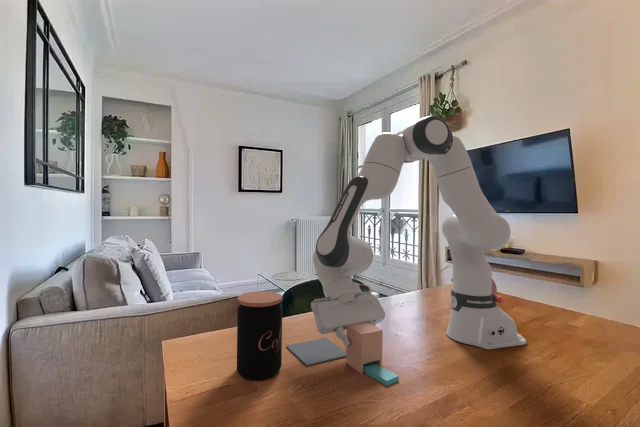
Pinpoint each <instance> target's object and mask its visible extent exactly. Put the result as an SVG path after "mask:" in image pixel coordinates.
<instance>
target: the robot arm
mask: <svg viewBox="0 0 640 427" xmlns="http://www.w3.org/2000/svg"><path fill="white" fill-rule="evenodd" d="M425 159H426V160H427V161H428V162H429V163H430V165H431V166H432V170H433V174H434V176H435V177H434V178H435V180H436V183H437V186H438V189H439V191H440V195H441V198H442V200H443V202H444V203H445V204H446V205H447V206H448V207H449V208H450V209H451V211H452V212H453V213H454V214H451V215H449V216H447V217H446V218H445V219H444V221H443V223H442V226H441V232H442V234H443V236H444V238H445V239H446V242H447V245H448V250H449V253H450V256H451V257H450V258H451V263H452V277H453V282H452V289H451V290H450V308H451V309H450V310H451V311H450V316H449V321H448V322H449V323H448V326H447V329H446V332H445V334H446V335H447V337H448V338H450V339H452V340H454V341H457V342H459V343H462V344H466V345H471V346H475V347H479V348H482V349H485V350H494V349H502V348H508V347H517V346H523V345H527V340H526V338H525V337H524V336H523V335H521V334H520V333H518V328H517V324H516V322H515V320H514V319H513V318H512V317H511V316H510V315H509V314H508V313H507V312H505V311H504V310H503V309H501V308H500V307H499V306H497V305H498V304H497V303H499V304H503V303H504V302H505V298H504V296H501V295H499V294H498V295H496V296H495V295H494V294H492V293H491V289H492V279H493V278H492V276H493V271H492V266H491V265H490V264H489V262H488V261H487V258H486V256H485V253H484V251H491V250H497V249H502V248H503V247H504V246H506V245H507V243H509V241H510V238H511V233H512V232H511V226H510V224H509V223H508V220H506V219H505V218H504V217H502V216H501V215H500V214H499V213H497V211H496V210H495V209H494V208H493V206H492V205H491V203H490V202H489V200H488V199H487V197H486V195H484V193H483V190H482V188H481V186H480V184H479V180H478V178H477V175H476V171H475V170H474V167H473V163H472V160H471V157H470V155H469V153H468V150H467V149H466V147H465V145H464V143H463V141H462V140H461V139H460V137H458V136H456V135H453V132H452V131H451V129H450V126H449V124H448V123H447V122H446V121H445V120H444V119H443V118H442V117H439V116H437V115H428V116H423V117H421V118H420V119H418V120H416V121H413V122H412V123H410V124H408V125H407V126H406V127H404V129H402V130H400V131H399V132H397V133H394V132H382V133H380V134H378V135H377V136H376V137H375V138H374V140H373V142H372V143H371V145H370V147H369V149H368V152H367V153H366V156H365V158H364V160H363V163H362V164H363V165H362V166H361V169H360V171H359V172H358V174H357V176H355V177H353V178H352V179H351V180H350V181H349V182H348V184H347V185H346V187H345V188H344V191H343V193H342V195H341V196H340V198H339V201H338V203H337V205H336V207H335V209H334V211H333V213H332V215H331V217H330V219H329V221H328V223H327V225H326V226H325V228H324V229H323V231H322V232H321V233H320V235H319V236H318V238H317V241H316V243H315V250H314V252H313V254H312V263H313V267H314V268H313V269H314V270H315V274H316V276H317V279H318V280H319V282H320V283H321V286H322V290H323V294H324V296H325V297H322V298H315V299H313V301H311V303H310V308H311V311H312V314H314V315H313V316H314V321H315V326H316V329H317V331H318V332H319V333H320V334H321V335H325V334H326V335H327V334H331V333H335V337H337V338H339V339H340V341H342V342H343V346H344V347H345V348H346V347H349V346H351V345H352V344H353V342H352V341H351V337H347V334H345V333H344V331H347V326H349V325H354V324H360V323H365V322H368V323H370V324H372V325H374V326H376V327H377V324H380V323H382V322H383V321H384V319H385V318H386V311H385V310H384V307H383V305H382V303H381V302H380V301H379V298H378V299H377V297H376V296H375V295H373V294H371V293H372V292H373V288H372V286H370V285H369V284H362V283H358V282H356V281H353V279H352V277H354V276H358V275H359V274H361V273H363V272H364V271H366V270H368V269H369V267H370V266H371V265H372V262H373V260H374V259H373V258H374V252H373V251H374V250H373V249H372V246H371V245H370V243H369V242H367V241H365V240H363V239H361V238H358V237H356V236H352V235H351V234H350V232H351V229H352V226H353V224H354V221H355V219H356V217H357V215H358V213H359V211H360V209H361V207H362V206H363V204H365V203H366V202H368V201H371V200H373V201H374V200H381V199H384V198H386V197H388V196H390V195H391V194H392V193H393V192H394V191H395V188H396V187H397V184H398V181H399V178H400V174H401V172H402V168H403V166H404V163H405V164H407V163H408V164H410V163H414V162H416V161H417V162H418V161H421V160H425Z"/></svg>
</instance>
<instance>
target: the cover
mask: <svg viewBox="0 0 640 427" xmlns="http://www.w3.org/2000/svg"><path fill="white" fill-rule="evenodd" d="M383 332H384V331H383V329H381V328H380V327H378V326H377V325H376V326H374V325H372V324H370V323H368V322H365V323H360V324H354V325H349V326H347V330H346V336H347V337H351V341H352V342H353V344H352V345H351V346H349V347H345V348H346V350H345V351H346V357H345V360H346V361H345V364H348V366H350V367H351V368H353V369H354V370H355V371H357V373H359V374H360V375H363V374H364V372H363V364H366V363H370V362H374V363H376V364H378V365H380V366H382V367H383Z"/></svg>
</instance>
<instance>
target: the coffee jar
mask: <svg viewBox="0 0 640 427" xmlns="http://www.w3.org/2000/svg"><path fill="white" fill-rule="evenodd" d="M282 301H283V295H282V294H280V293H278V292H275V291H250V292H245V293H243V294H239V296H238V297H237V303H238V304H239V305H238V306H237V312H236V313H237V315H236V316H237V322H236V324H237V326H236V328H237V330H236V332H237V334H236V371H237V373H238V375H240V377H241V378H243V379H244V380H246V381H252V382H255V381H256V382H261V381H266V380H270V379H272V378H273V377H275V376H276V375H277V374H278V373H279V371H280V369H281V368H282V355H283V353H282V351H283V350H282V349H283V348H282V347H283V345H282V344H283V305H282V303H281V302H282Z"/></svg>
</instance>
